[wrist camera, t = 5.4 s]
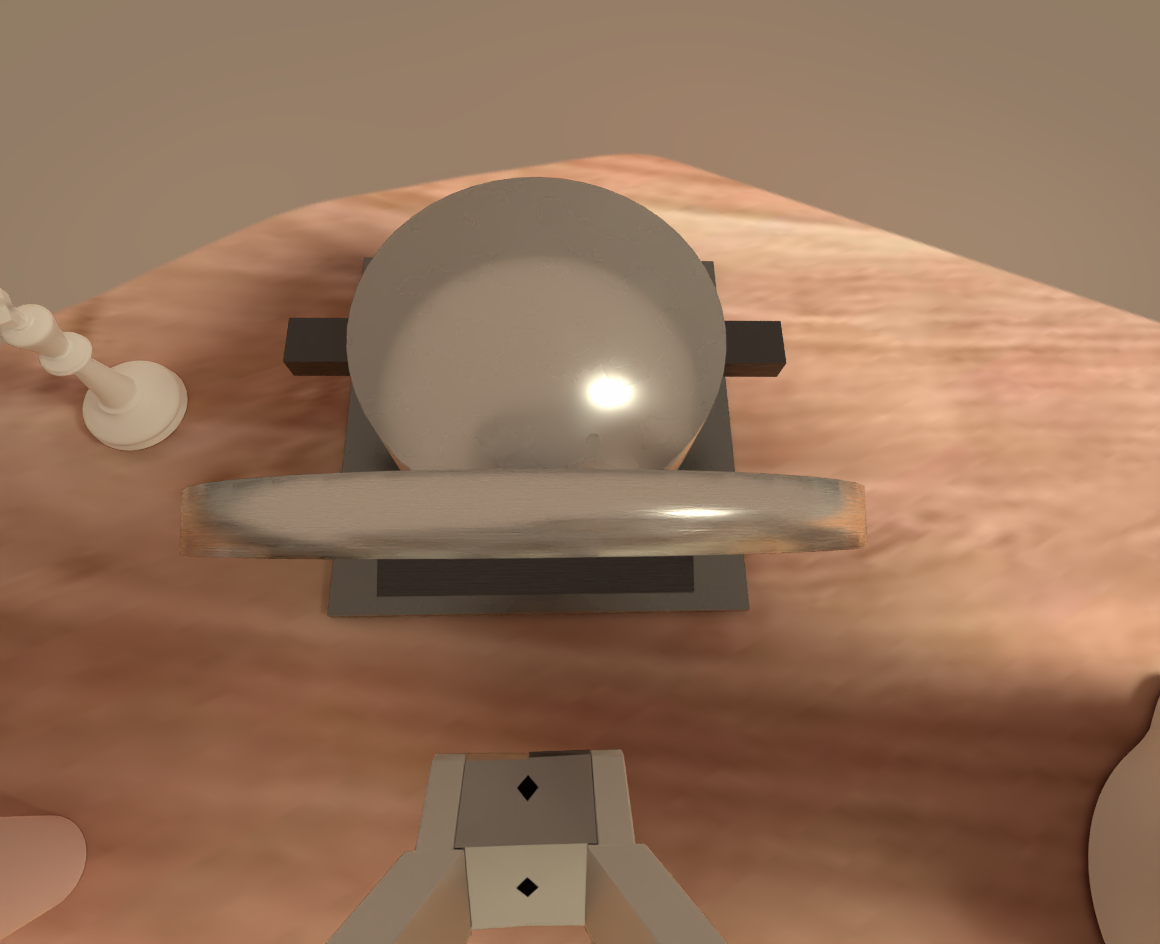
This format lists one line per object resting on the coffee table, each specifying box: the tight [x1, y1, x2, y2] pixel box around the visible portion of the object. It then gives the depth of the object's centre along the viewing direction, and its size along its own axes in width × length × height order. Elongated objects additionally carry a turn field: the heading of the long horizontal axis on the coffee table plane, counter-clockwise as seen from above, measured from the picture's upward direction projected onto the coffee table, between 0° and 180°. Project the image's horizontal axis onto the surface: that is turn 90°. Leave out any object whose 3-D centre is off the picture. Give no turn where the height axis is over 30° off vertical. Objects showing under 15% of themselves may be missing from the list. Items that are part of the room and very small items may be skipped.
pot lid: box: [179, 469, 867, 597], centre depth 16 cm, size 15×15×3 cm
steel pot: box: [283, 177, 786, 617], centre depth 31 cm, size 20×20×10 cm
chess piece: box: [0, 288, 188, 451], centre depth 30 cm, size 5×5×10 cm
